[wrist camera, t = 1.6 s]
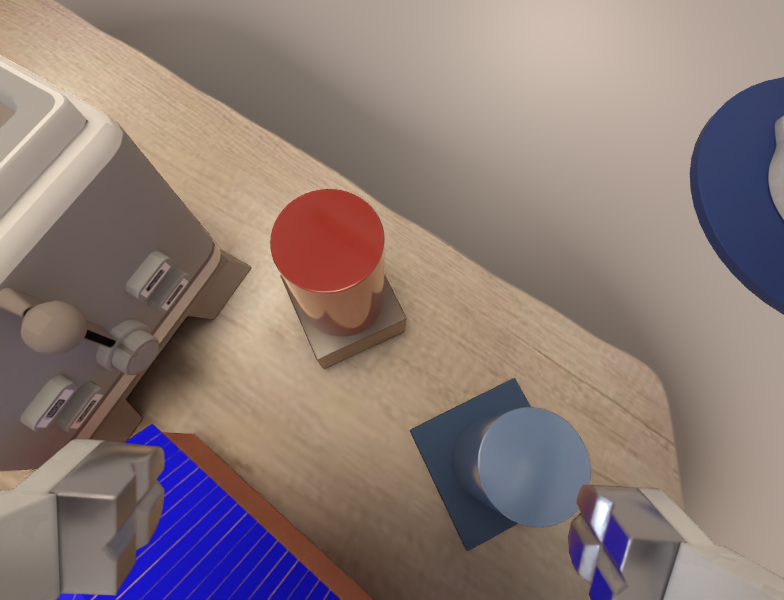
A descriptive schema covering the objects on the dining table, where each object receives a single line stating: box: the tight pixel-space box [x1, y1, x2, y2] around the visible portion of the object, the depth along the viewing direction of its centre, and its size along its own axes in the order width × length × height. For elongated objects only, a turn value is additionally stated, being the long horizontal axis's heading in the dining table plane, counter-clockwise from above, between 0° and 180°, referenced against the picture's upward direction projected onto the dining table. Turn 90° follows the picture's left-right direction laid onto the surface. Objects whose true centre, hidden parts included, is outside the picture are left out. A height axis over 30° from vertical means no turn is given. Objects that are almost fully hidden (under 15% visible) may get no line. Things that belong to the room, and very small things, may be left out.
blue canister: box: [452, 407, 591, 527], centre depth 30 cm, size 6×6×10 cm
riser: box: [281, 274, 407, 369], centre depth 36 cm, size 7×7×4 cm
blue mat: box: [410, 378, 531, 551], centre depth 35 cm, size 9×9×1 cm
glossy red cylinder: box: [270, 189, 384, 337], centre depth 30 cm, size 6×6×10 cm
